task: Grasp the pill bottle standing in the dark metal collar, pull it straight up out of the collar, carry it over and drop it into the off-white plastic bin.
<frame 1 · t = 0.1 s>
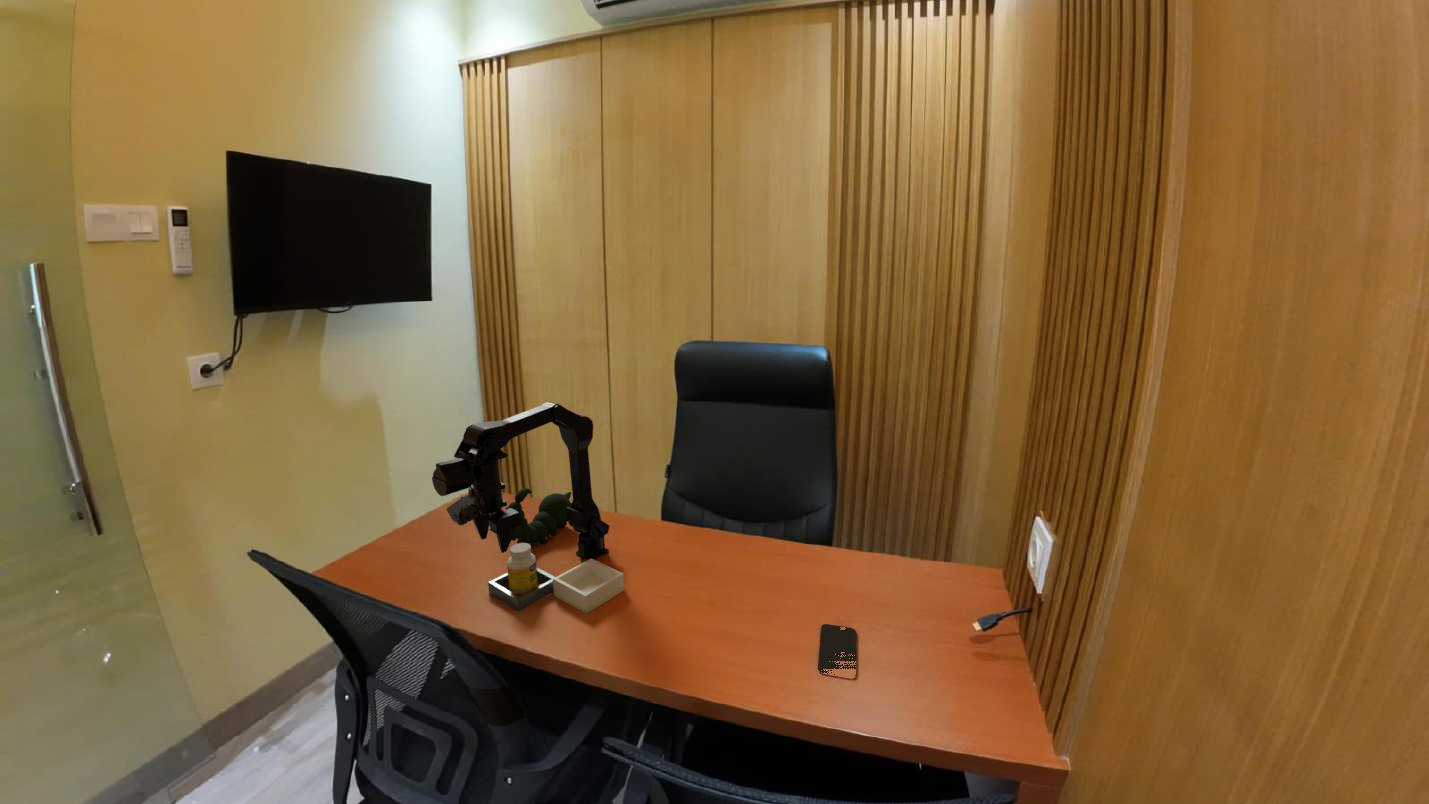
hand: (493, 545, 121), 14 cm above the table, tool pointing down, fingers open, 9 cm apart
phone: (837, 653, 109), on the table
bin: (589, 592, 128), on the table
collar: (524, 591, 129), on the table
toy figurine: (545, 537, 155), on the table
pill bottle: (524, 592, 129), resting in collar
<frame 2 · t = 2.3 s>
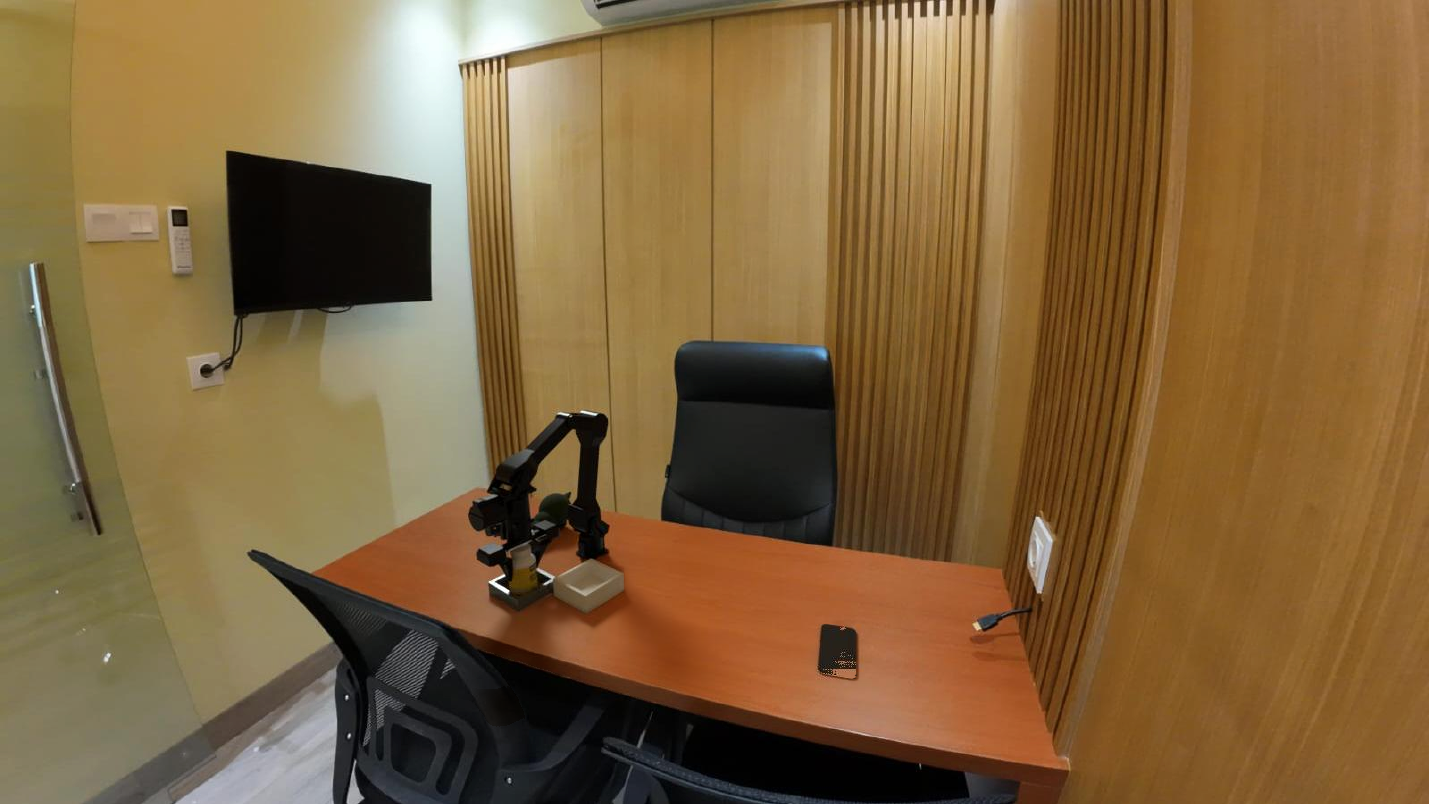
hand: (522, 574, 128), 5 cm above the table, tool pointing down, fingers closed on pill bottle, 6 cm apart
pill bottle: (524, 592, 129), resting in collar, touching gripper
everything else where it was.
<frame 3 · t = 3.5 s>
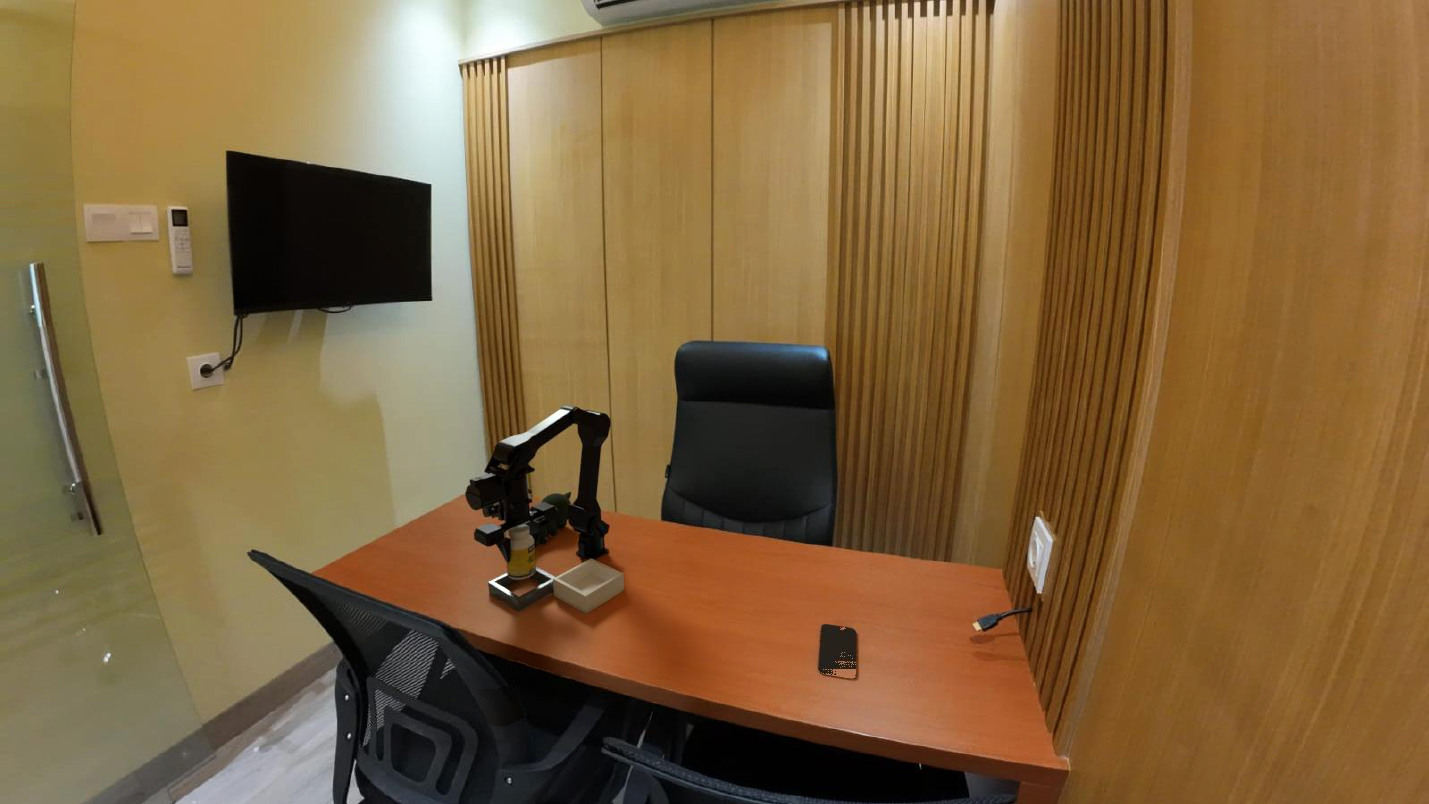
hand: (520, 555, 126), 9 cm above the table, tool pointing down, fingers closed on pill bottle, 6 cm apart
pill bottle: (522, 574, 127), point 5 cm above the table, touching gripper
everything else where it was.
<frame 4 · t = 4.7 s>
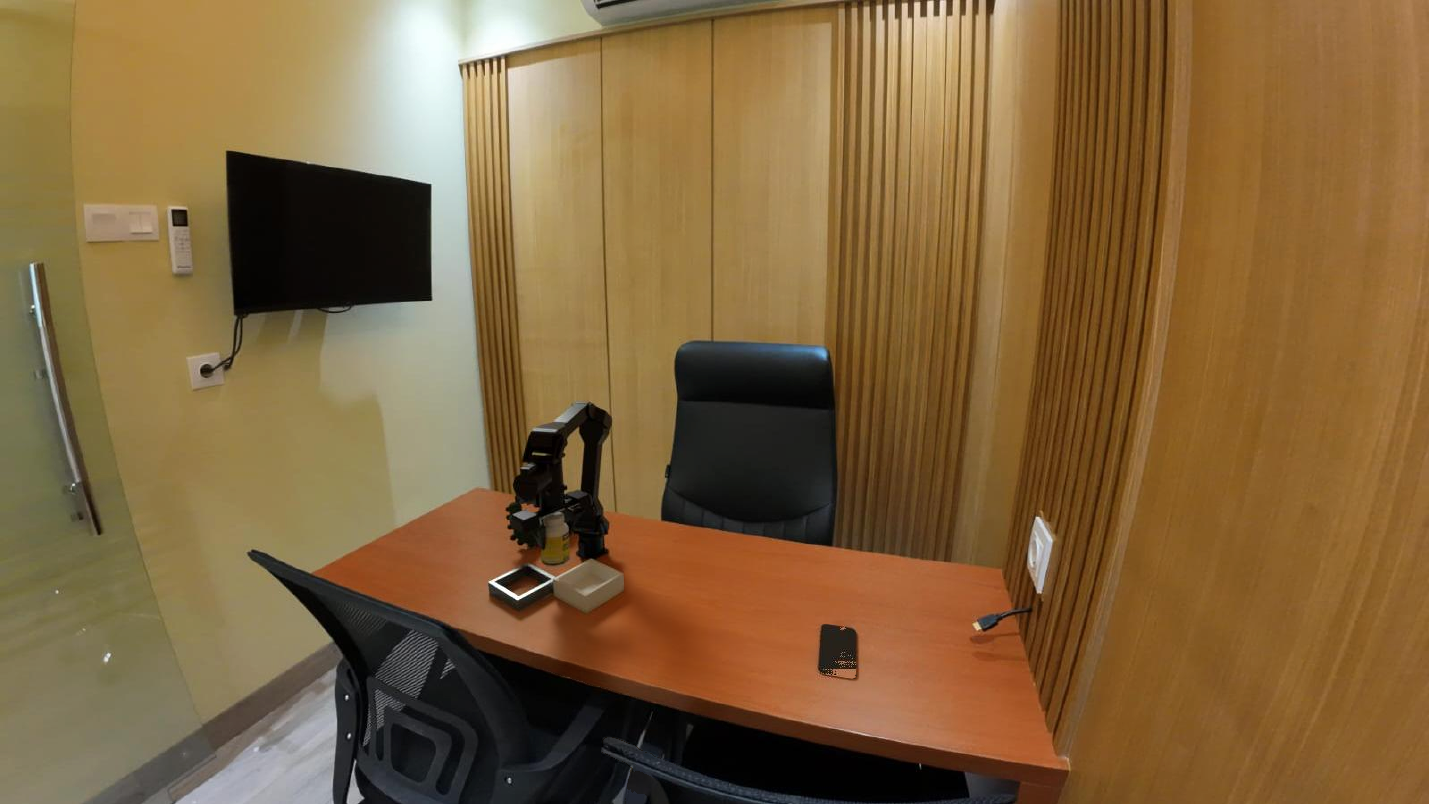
hand: (555, 543, 125), 13 cm above the table, tool pointing down, fingers closed on pill bottle, 6 cm apart
pill bottle: (556, 562, 126), point 8 cm above the table, touching gripper
everything else where it was.
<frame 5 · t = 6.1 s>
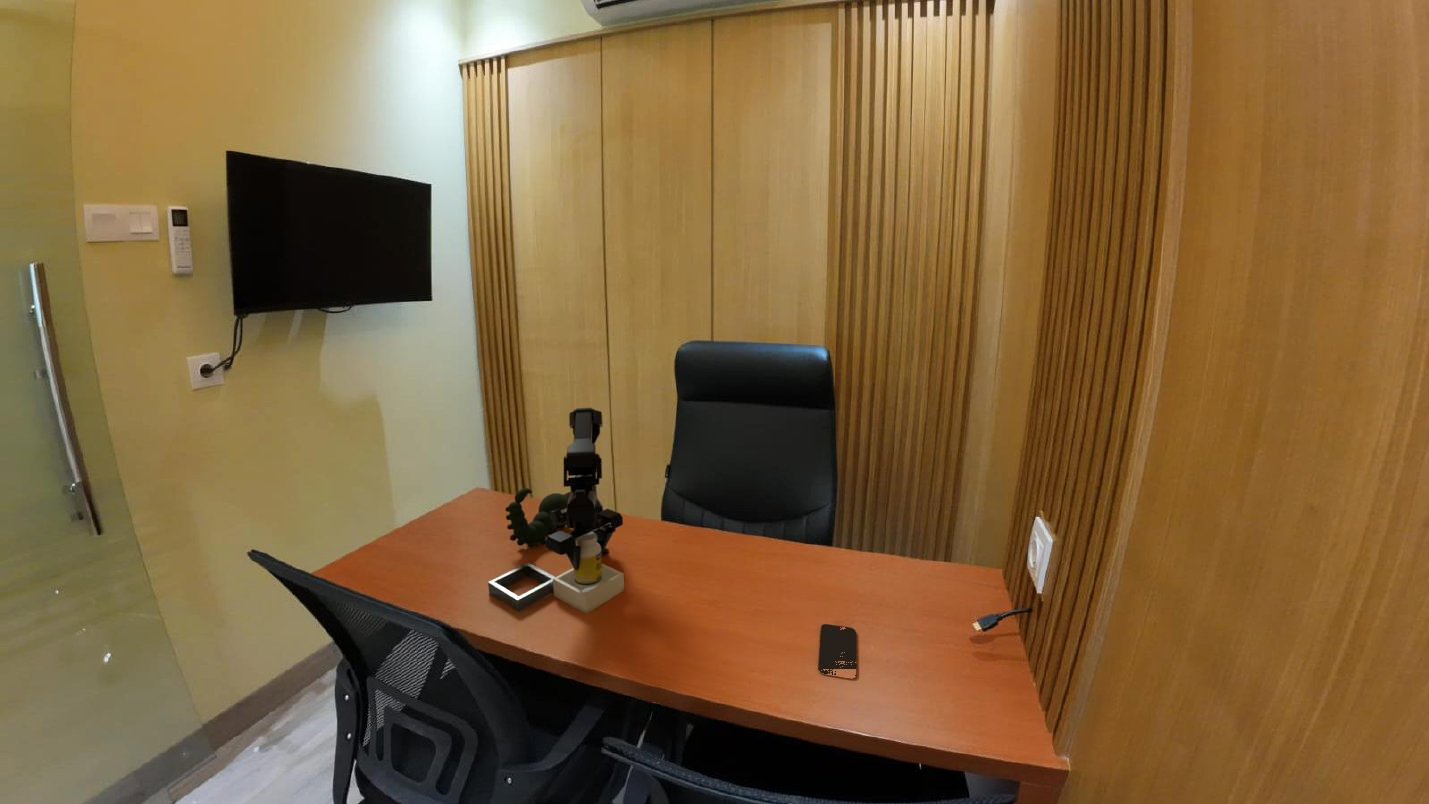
hand: (587, 563, 126), 8 cm above the table, tool pointing down, fingers closed on pill bottle, 6 cm apart
pill bottle: (588, 581, 127), point 3 cm above the table, touching gripper
everything else where it was.
when the fingers open (6 cm above the table, at t = 7.4 s): pill bottle stays where it is, resting on bin.
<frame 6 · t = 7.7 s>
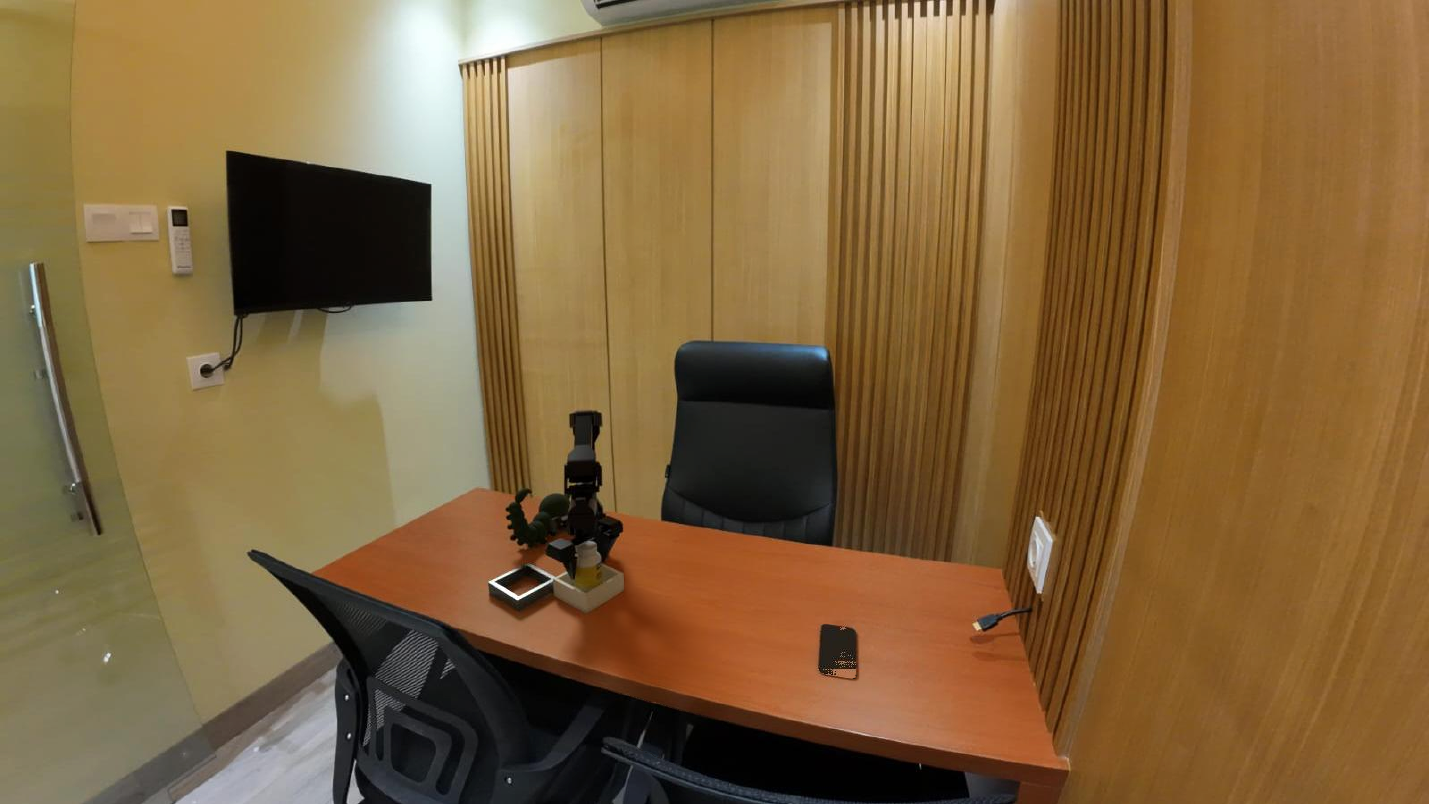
hand: (588, 570, 127), 6 cm above the table, tool pointing down, fingers open, 9 cm apart
pill bottle: (589, 590, 128), point 1 cm above the table, touching bin
everything else where it was.
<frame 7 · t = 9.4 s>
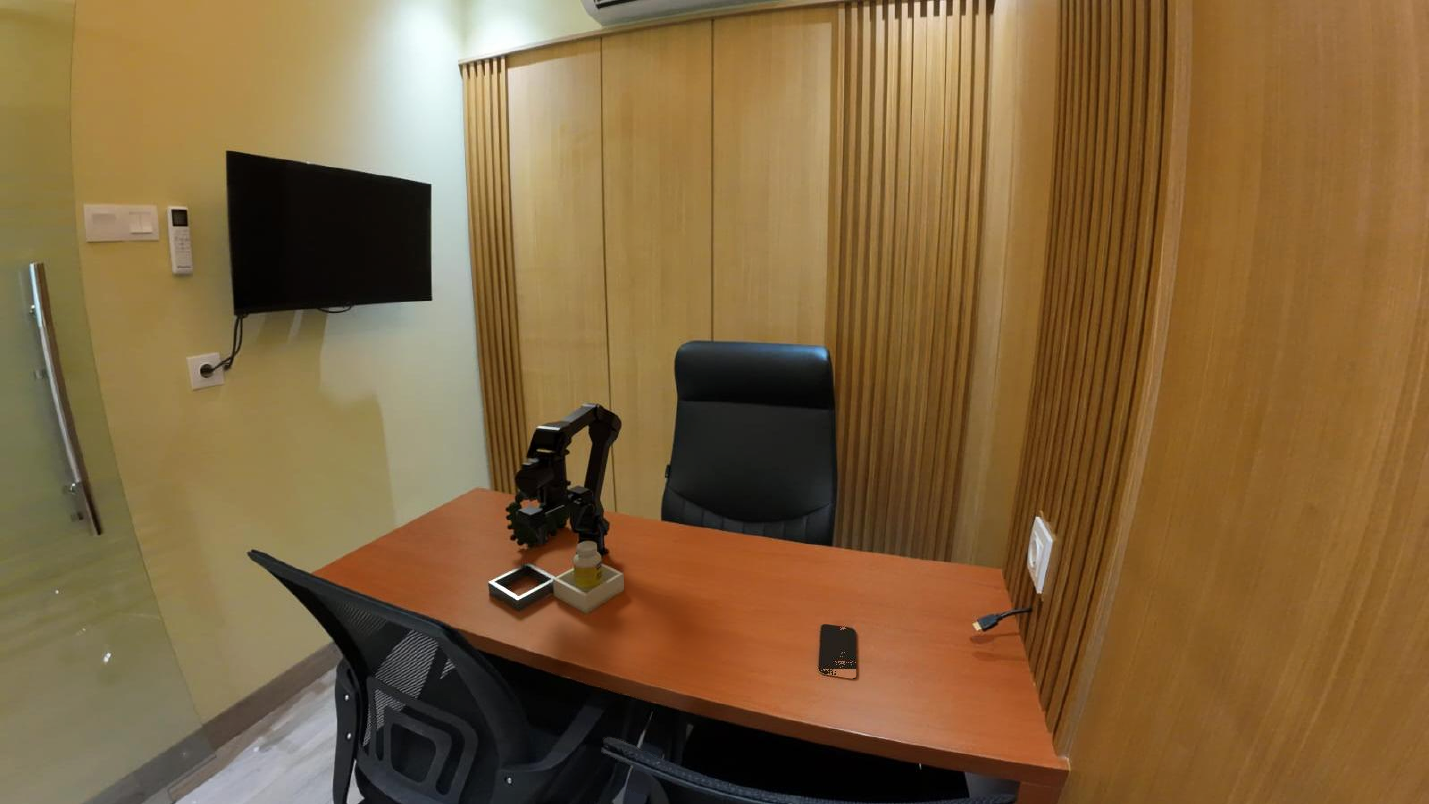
hand: (558, 537, 130), 12 cm above the table, tool pointing down, fingers open, 9 cm apart
nothing on the table moved.
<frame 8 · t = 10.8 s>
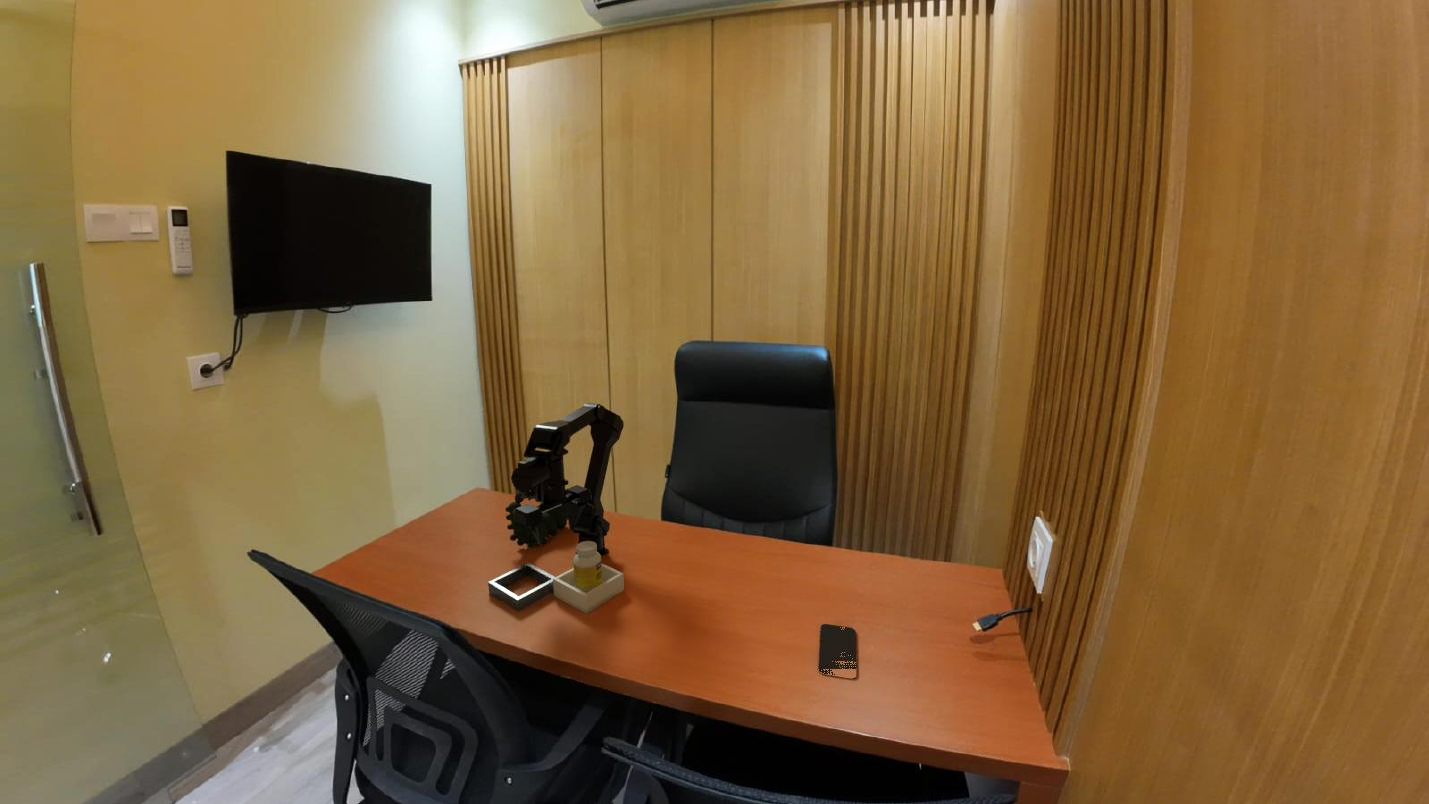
hand: (556, 536, 130), 12 cm above the table, tool pointing down, fingers open, 9 cm apart
nothing on the table moved.
at the end: pill bottle inside the target area on the bin (0.0 cm from its centre), point 0.6 cm above the bin's base; the gripper is holding nothing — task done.
